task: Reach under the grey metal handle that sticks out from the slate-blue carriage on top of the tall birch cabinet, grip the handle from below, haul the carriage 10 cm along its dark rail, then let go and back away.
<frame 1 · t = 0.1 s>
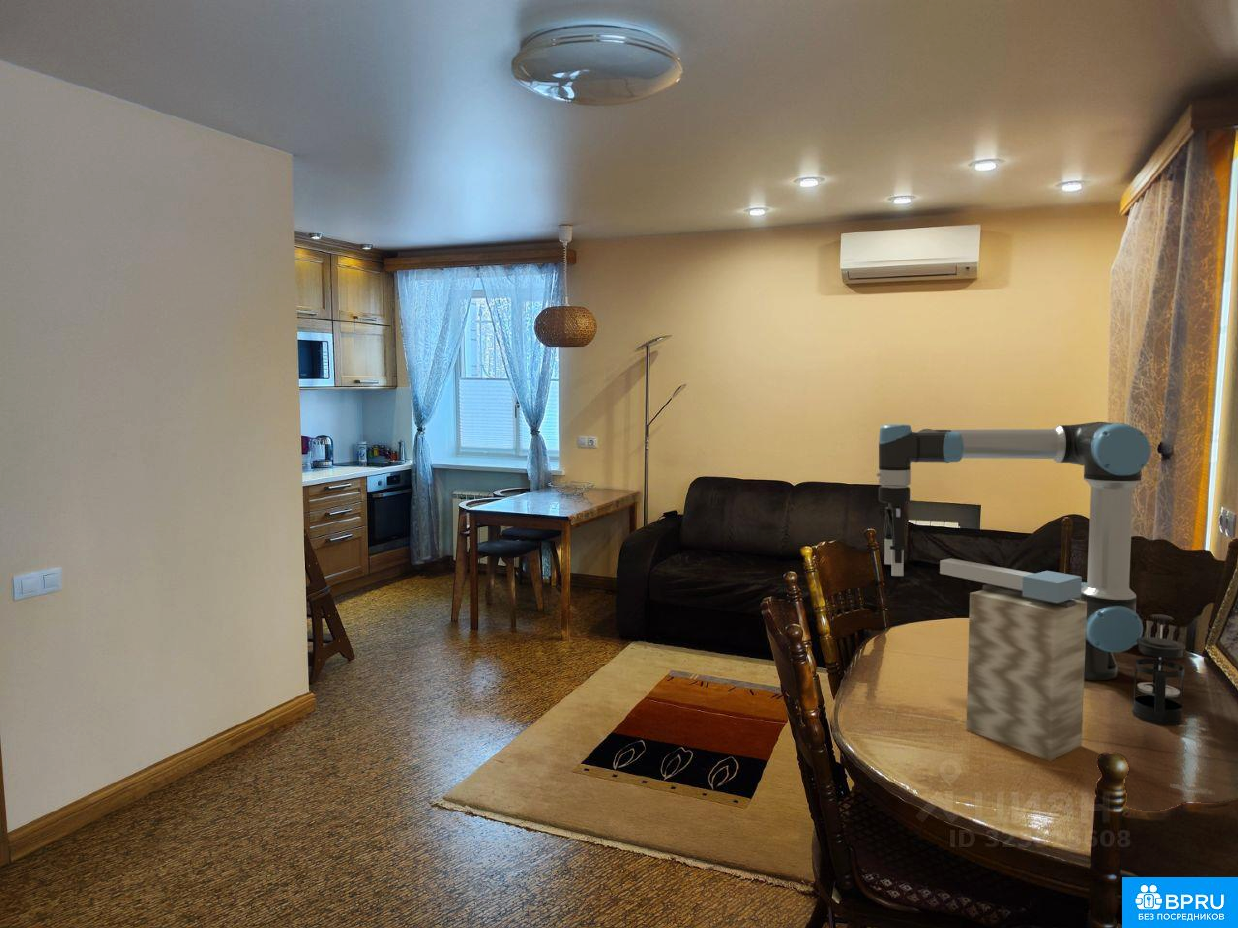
hand: (893, 569, 201), 28 cm above the table, tool pointing down, fingers open, 13 cm apart
french press: (1157, 718, 177), on the table
supplement tub: (1107, 644, 228), on the table
carriage: (1003, 577, 169), point 33 cm above the table, slide at 0.0 cm
rail cabinet: (1022, 737, 168), on the table
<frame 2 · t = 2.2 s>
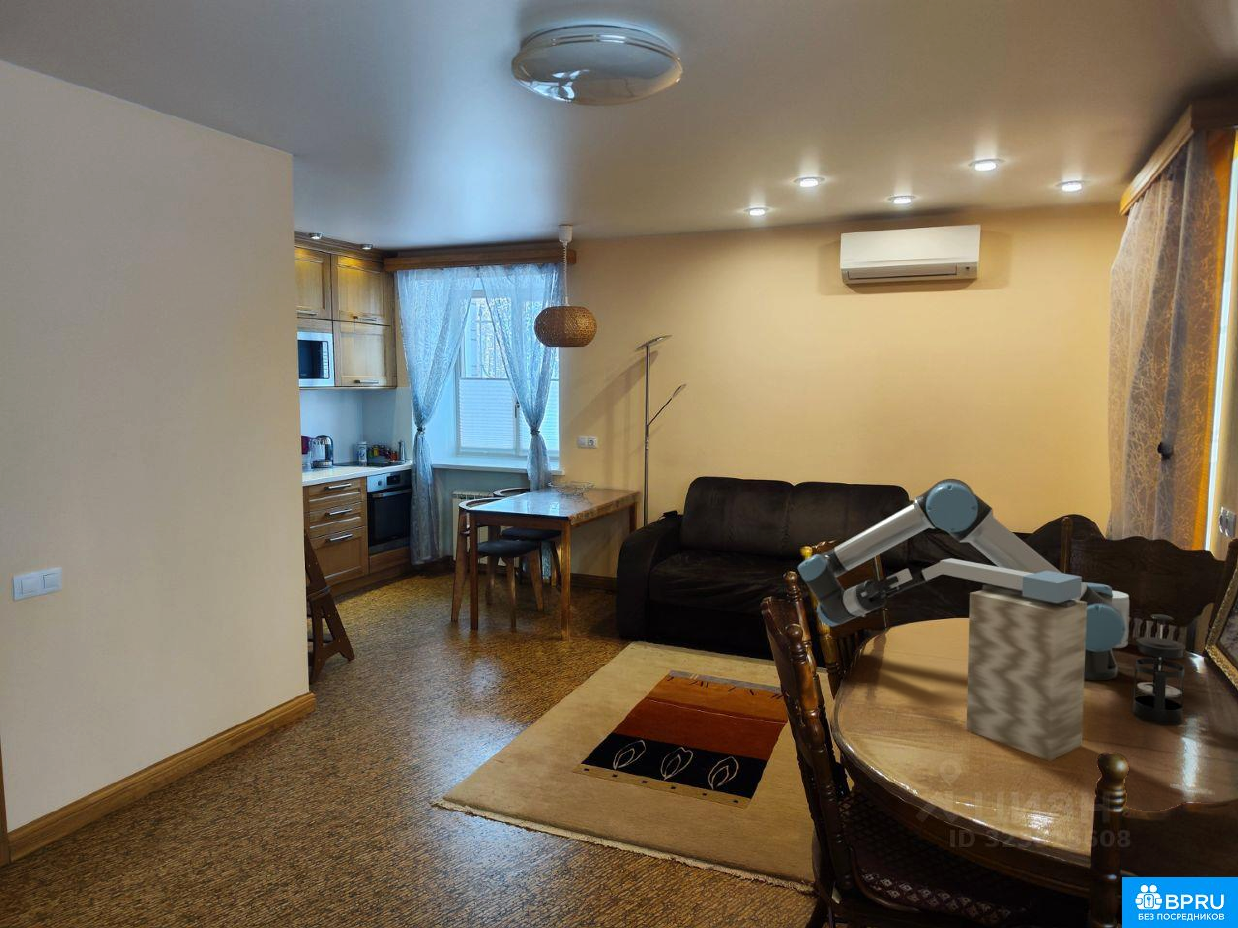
hand: (927, 570, 193), 30 cm above the table, tool pointing upward, fingers open, 13 cm apart
nothing on the table moved.
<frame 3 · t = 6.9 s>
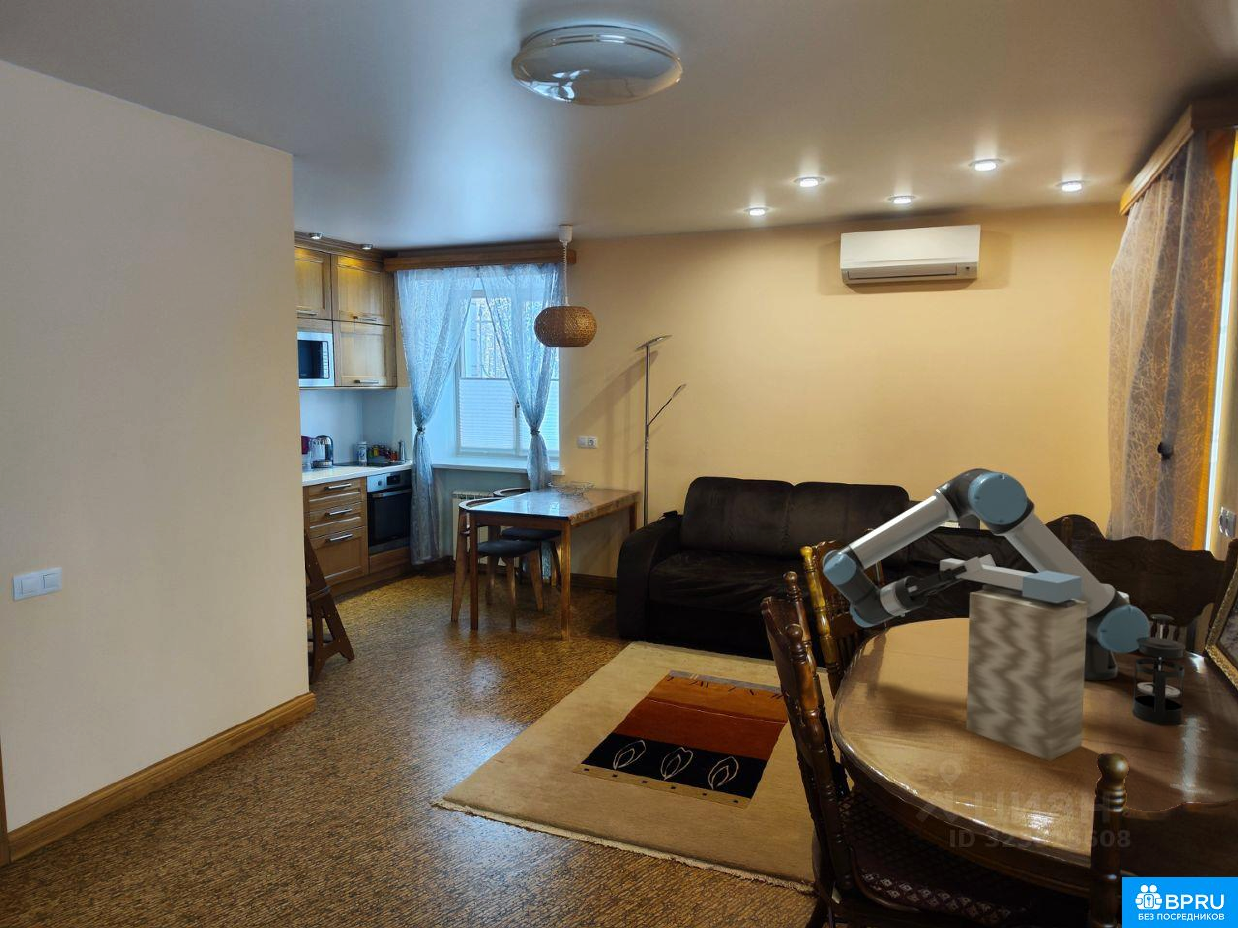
hand: (985, 561, 172), 36 cm above the table, tool pointing upward, fingers closed on carriage, 4 cm apart
carriage: (1003, 577, 169), point 33 cm above the table, slide at 0.0 cm, touching gripper
everything else where it was.
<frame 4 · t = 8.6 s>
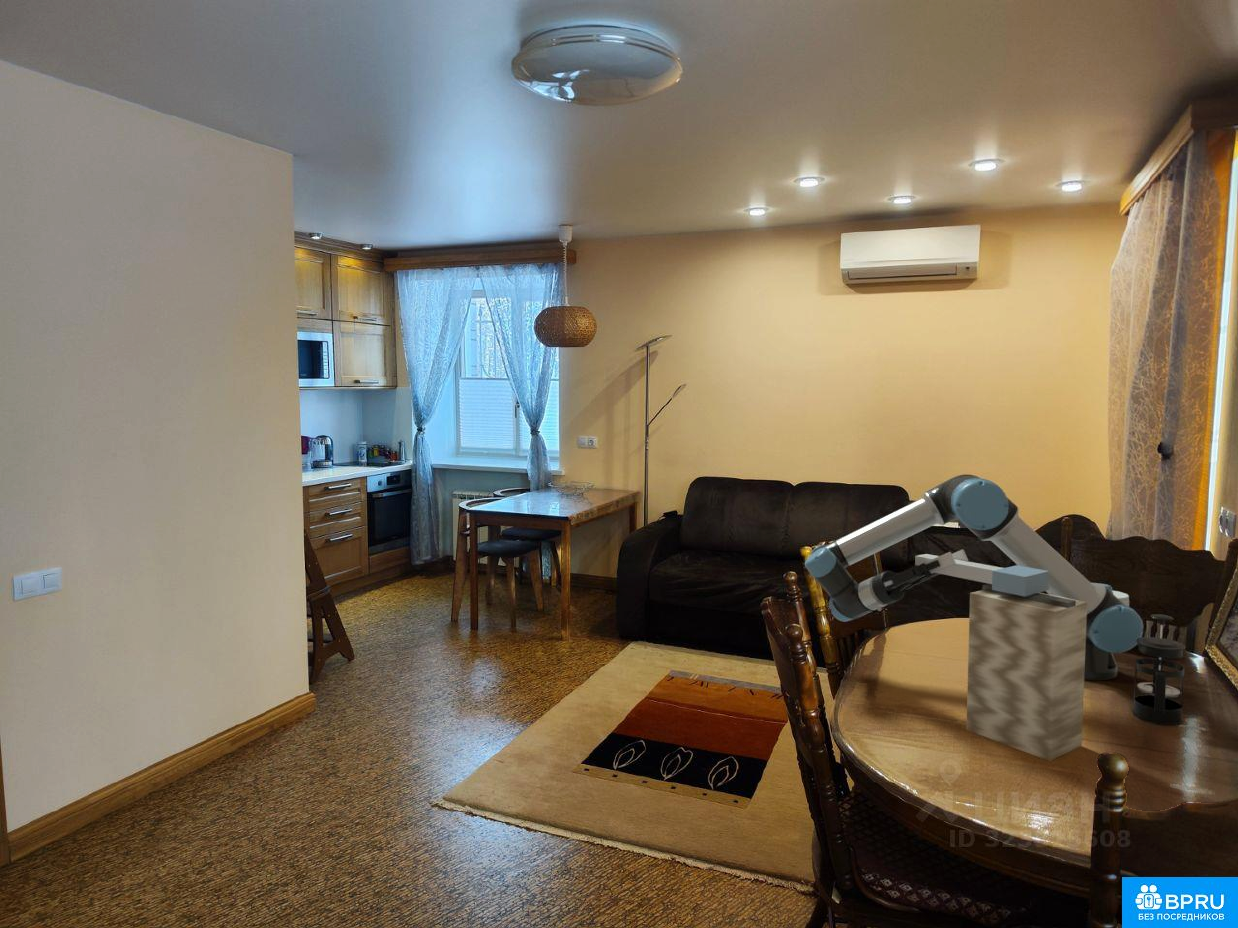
hand: (958, 556, 178), 36 cm above the table, tool pointing upward, fingers closed on carriage, 4 cm apart
carriage: (975, 571, 174), point 33 cm above the table, slide at 6.5 cm, touching gripper
everything else where it was.
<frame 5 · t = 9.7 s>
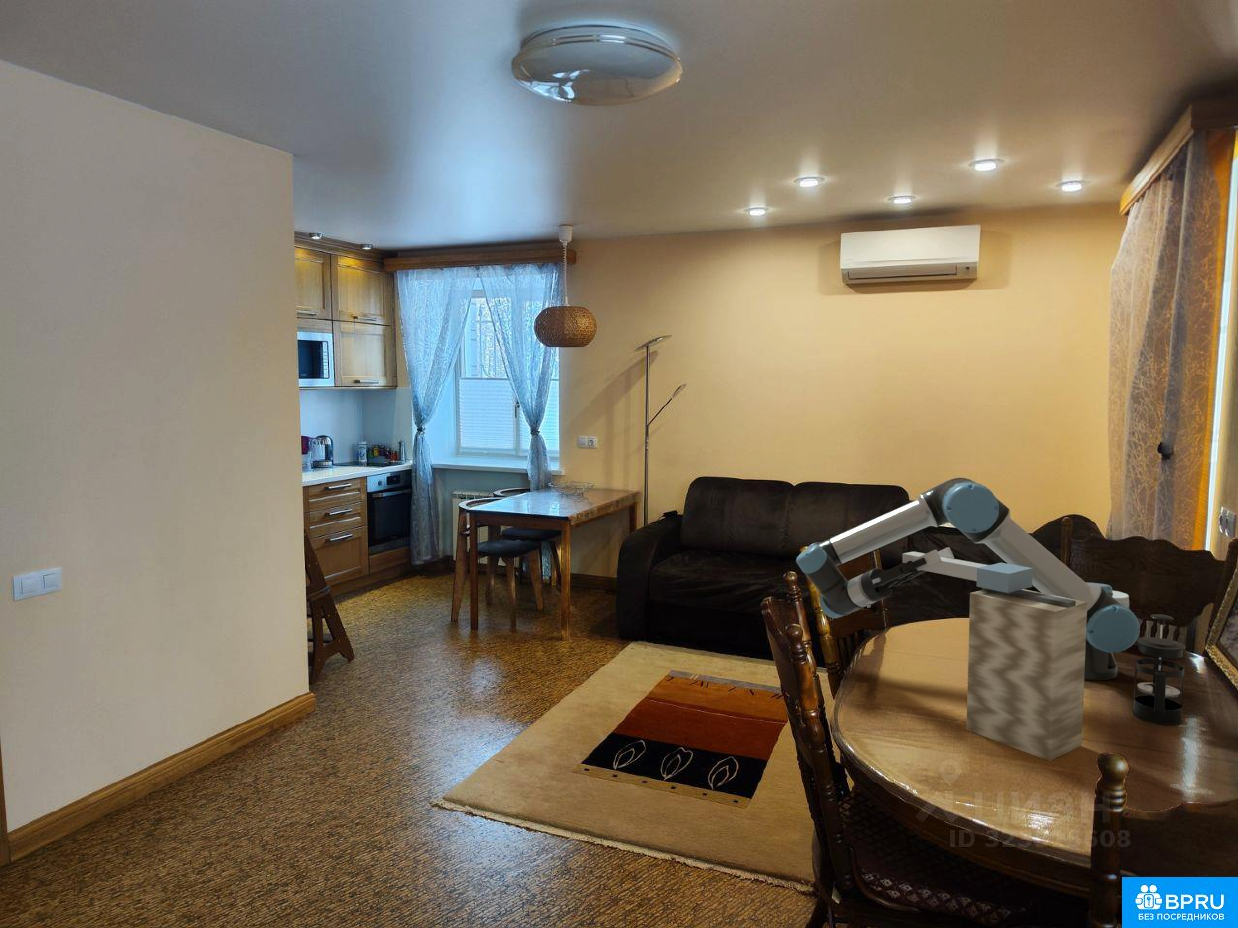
hand: (944, 553, 181), 36 cm above the table, tool pointing upward, fingers closed on carriage, 4 cm apart
carriage: (960, 568, 177), point 33 cm above the table, slide at 10.0 cm, touching gripper
everything else where it was.
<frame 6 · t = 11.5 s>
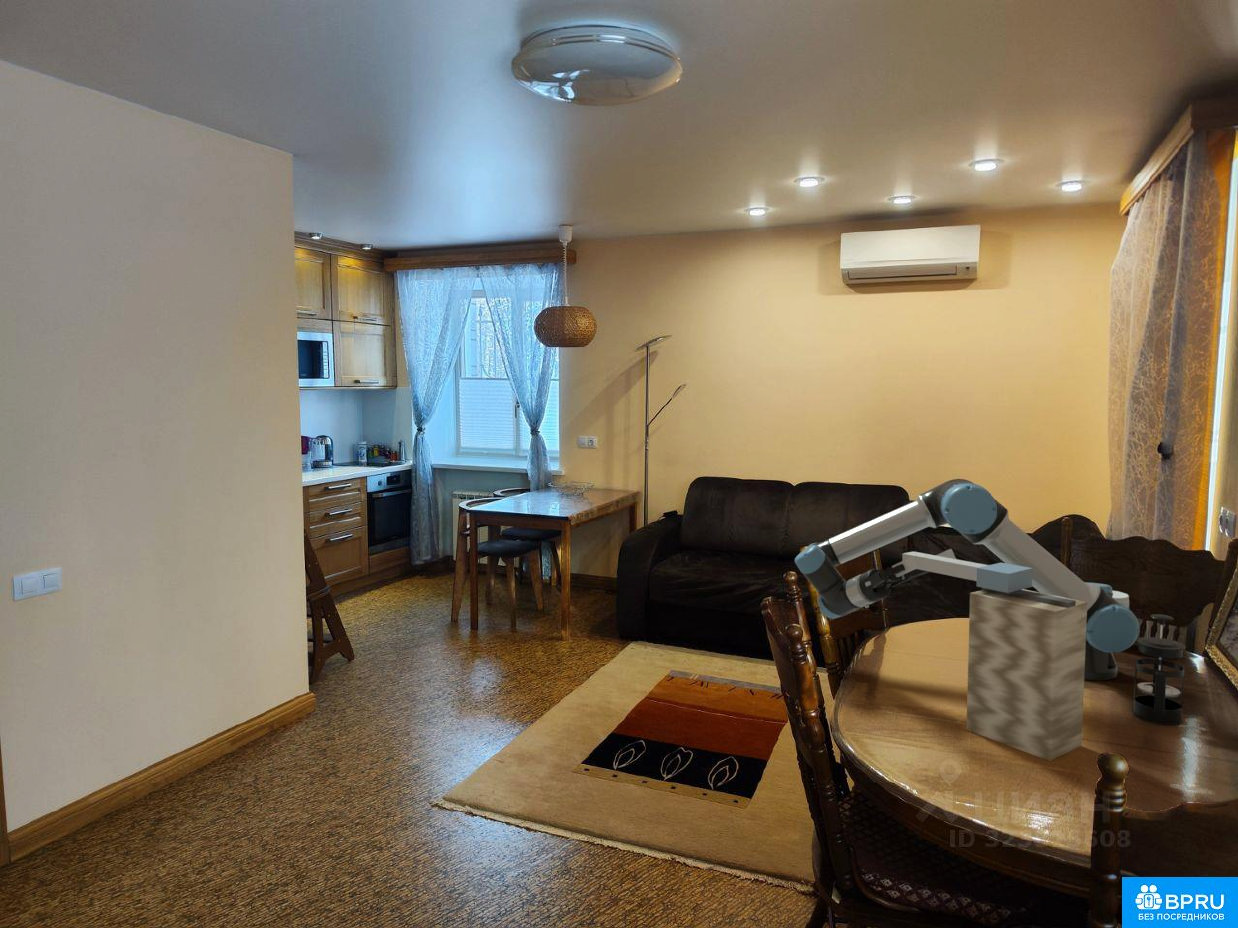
hand: (935, 557, 183), 35 cm above the table, tool pointing upward, fingers open, 13 cm apart
carriage: (960, 568, 177), point 33 cm above the table, slide at 10.0 cm
everything else where it was.
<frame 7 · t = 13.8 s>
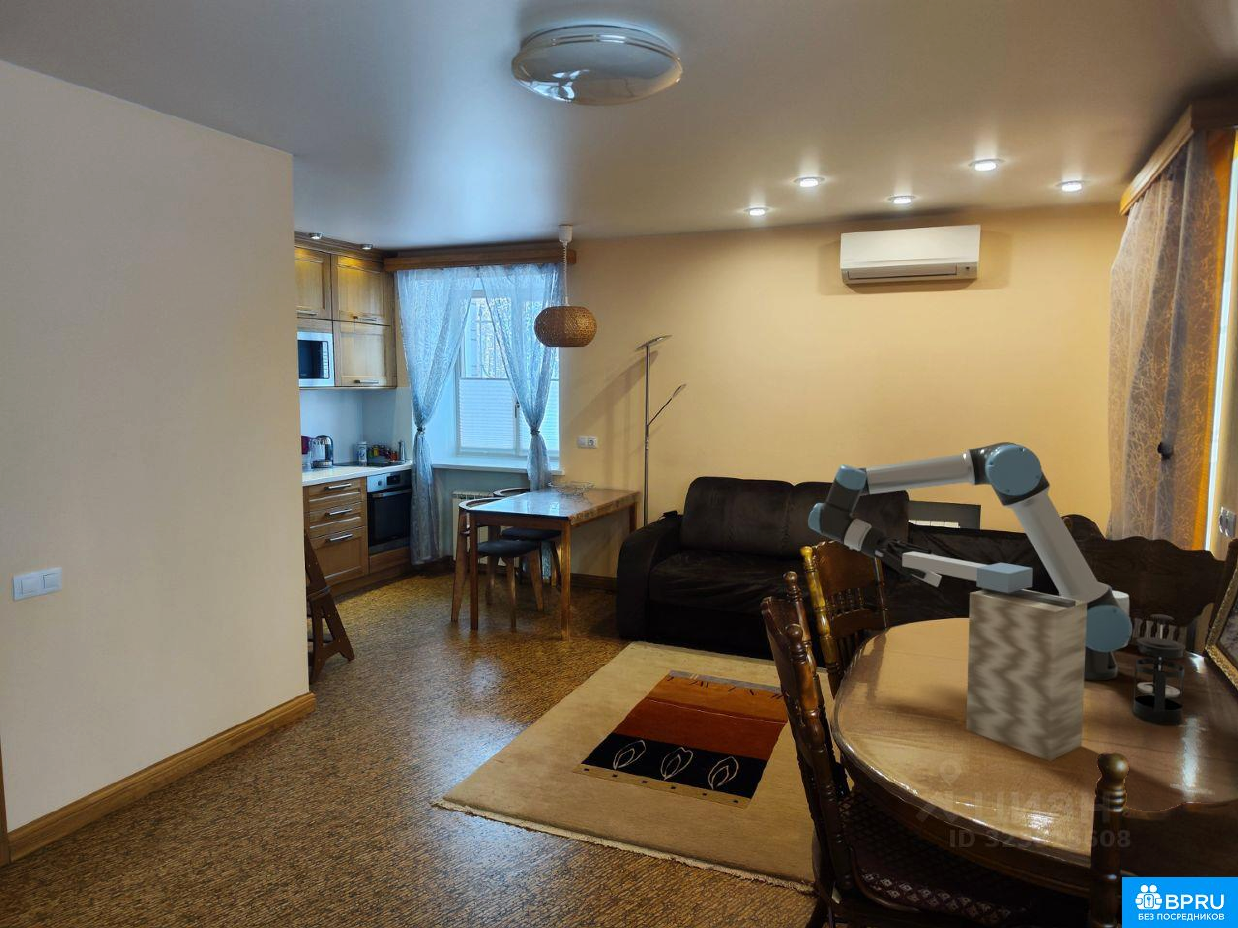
hand: (947, 575, 194), 28 cm above the table, tool tilted 70°, fingers open, 13 cm apart
nothing on the table moved.
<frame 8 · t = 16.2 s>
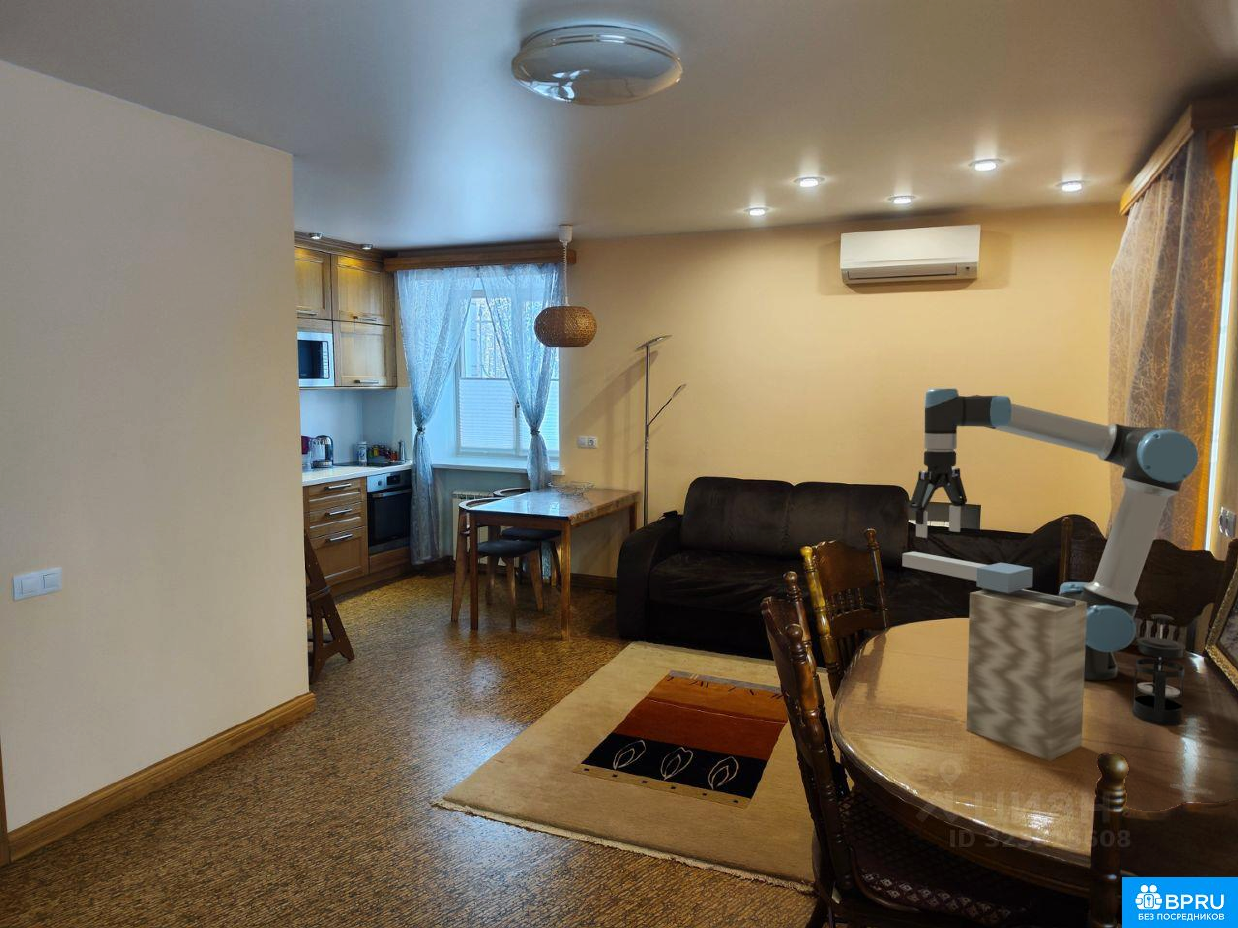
hand: (938, 534, 202), 37 cm above the table, tool pointing down, fingers open, 13 cm apart
nothing on the table moved.
at the end: carriage slide at 10.0 cm; the gripper is holding nothing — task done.
